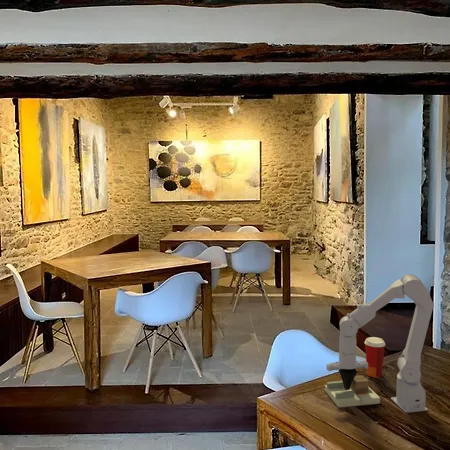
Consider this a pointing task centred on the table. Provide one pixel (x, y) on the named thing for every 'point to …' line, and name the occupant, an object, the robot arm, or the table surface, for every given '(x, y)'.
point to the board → (349, 395)
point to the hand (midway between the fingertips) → (346, 388)
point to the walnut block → (360, 385)
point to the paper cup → (374, 356)
